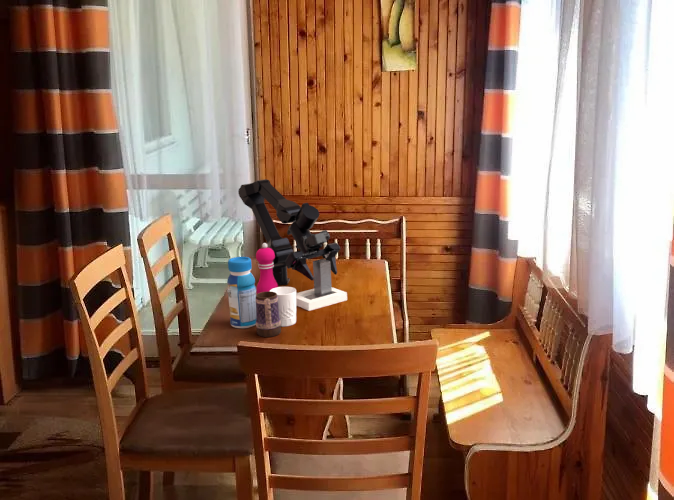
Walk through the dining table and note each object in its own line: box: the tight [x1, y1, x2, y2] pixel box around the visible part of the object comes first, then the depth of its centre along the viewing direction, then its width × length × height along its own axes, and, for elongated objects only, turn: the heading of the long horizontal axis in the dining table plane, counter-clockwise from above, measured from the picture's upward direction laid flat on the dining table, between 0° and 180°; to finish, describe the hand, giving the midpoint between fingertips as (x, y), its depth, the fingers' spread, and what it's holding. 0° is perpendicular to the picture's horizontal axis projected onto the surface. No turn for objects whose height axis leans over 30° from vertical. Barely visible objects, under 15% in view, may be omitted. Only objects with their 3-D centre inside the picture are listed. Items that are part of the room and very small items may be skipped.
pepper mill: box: [255, 242, 279, 294], centre depth 237 cm, size 7×7×20 cm
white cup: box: [270, 286, 297, 327], centre depth 220 cm, size 8×8×10 cm
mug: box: [255, 291, 282, 338], centre depth 211 cm, size 10×7×12 cm
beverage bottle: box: [226, 256, 257, 329], centre depth 219 cm, size 8×8×20 cm
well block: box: [296, 286, 348, 312], centre depth 239 cm, size 11×15×2 cm
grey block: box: [304, 258, 332, 300], centre depth 238 cm, size 4×8×13 cm, turn 127°
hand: (324, 276), depth 238 cm, fingers open, 9 cm apart
